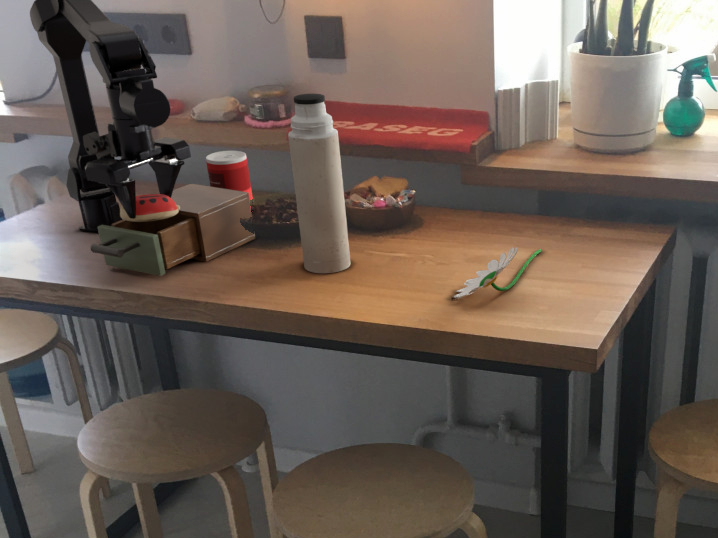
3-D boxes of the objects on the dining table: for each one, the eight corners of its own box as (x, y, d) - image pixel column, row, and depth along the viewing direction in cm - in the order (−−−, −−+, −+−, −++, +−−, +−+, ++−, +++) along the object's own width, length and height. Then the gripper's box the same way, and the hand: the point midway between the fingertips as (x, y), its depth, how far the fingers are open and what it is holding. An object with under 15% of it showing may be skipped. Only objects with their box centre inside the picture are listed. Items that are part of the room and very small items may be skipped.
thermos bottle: (317, 255, 180) (298, 88, 164) (358, 260, 177) (342, 91, 162) (296, 270, 173) (274, 99, 158) (337, 275, 171) (319, 101, 156)
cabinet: (206, 261, 178) (198, 213, 173) (148, 250, 183) (138, 203, 178) (255, 238, 188) (248, 192, 183) (198, 228, 193) (190, 183, 188)
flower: (562, 219, 176) (498, 255, 151) (576, 247, 177) (515, 288, 152) (501, 253, 182) (430, 293, 157) (515, 280, 183) (448, 324, 158)
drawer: (138, 286, 166) (129, 246, 162) (83, 275, 171) (73, 235, 167) (210, 253, 179) (203, 215, 175) (157, 243, 184) (149, 206, 180)
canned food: (259, 206, 205) (251, 150, 199) (247, 218, 198) (238, 161, 192) (222, 205, 205) (213, 150, 199) (209, 217, 199) (199, 160, 193)
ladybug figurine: (121, 214, 174) (116, 193, 172) (180, 208, 177) (176, 188, 175) (121, 226, 169) (116, 205, 167) (182, 220, 171) (178, 199, 169)
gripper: (134, 100, 174) (152, 191, 182) (49, 123, 160) (73, 220, 168) (184, 105, 169) (200, 198, 178) (101, 130, 156) (123, 230, 164)
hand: (149, 211), depth 172 cm, fingers closed on ladybug figurine, 8 cm apart
